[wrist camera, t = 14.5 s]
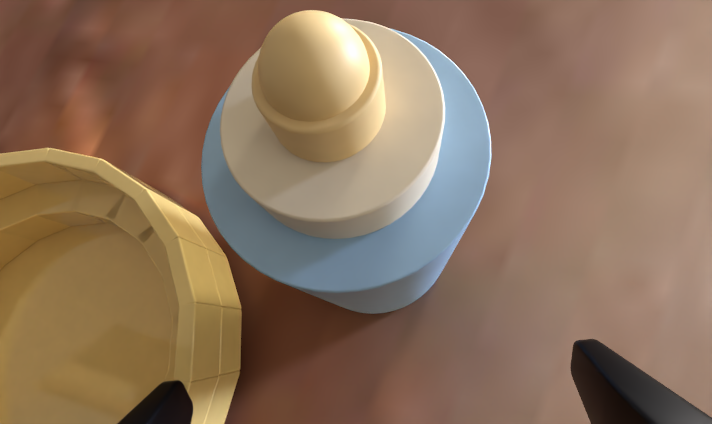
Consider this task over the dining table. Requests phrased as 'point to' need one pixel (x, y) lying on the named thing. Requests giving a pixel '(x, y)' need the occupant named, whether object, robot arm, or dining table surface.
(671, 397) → the robot arm
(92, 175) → the bowl
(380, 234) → the baby bottle
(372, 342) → the dining table surface
